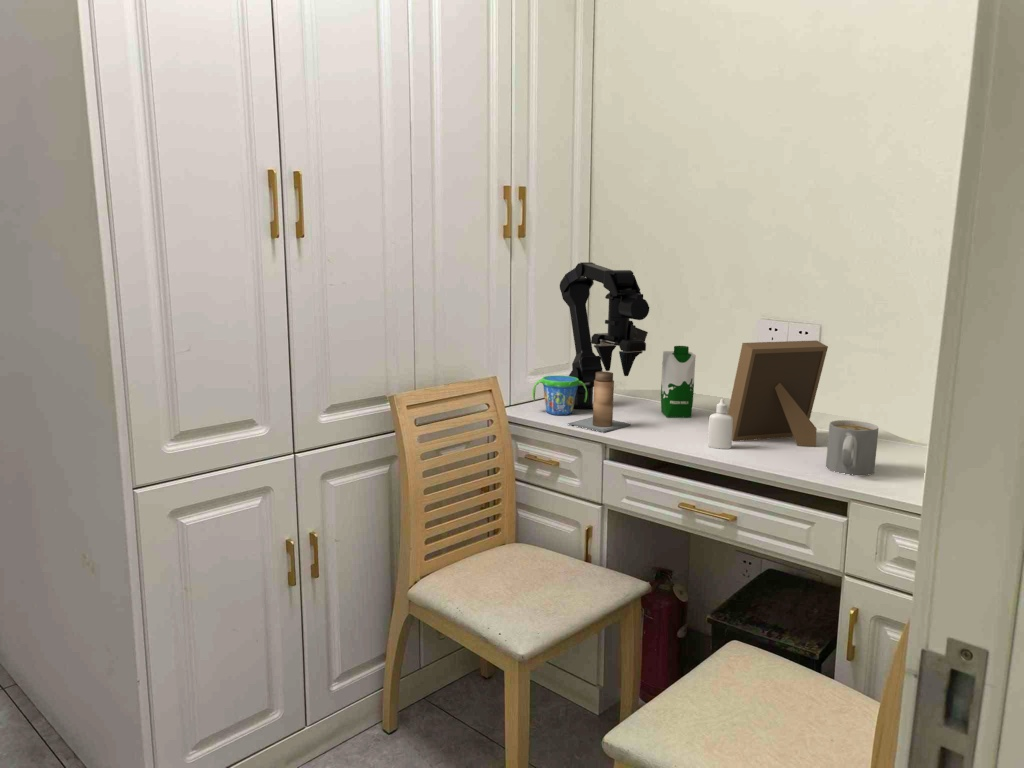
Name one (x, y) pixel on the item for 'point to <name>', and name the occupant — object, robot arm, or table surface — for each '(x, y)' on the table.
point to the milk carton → (677, 382)
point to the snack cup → (560, 393)
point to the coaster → (589, 425)
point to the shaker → (603, 399)
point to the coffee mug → (852, 447)
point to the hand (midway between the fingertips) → (616, 373)
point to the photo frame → (776, 390)
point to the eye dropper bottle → (720, 428)
